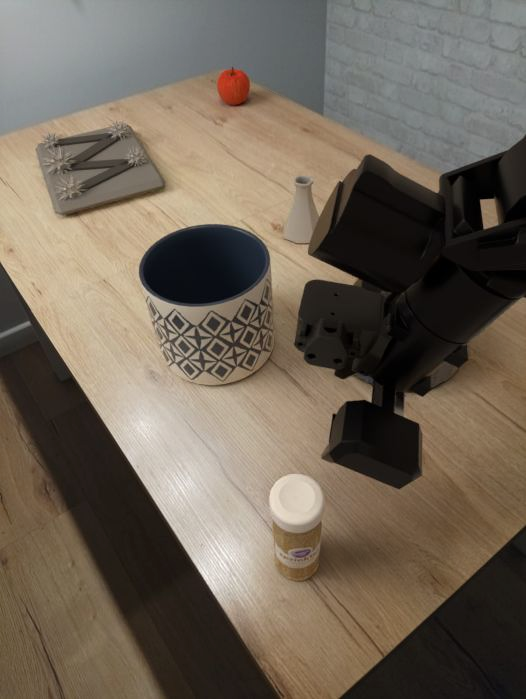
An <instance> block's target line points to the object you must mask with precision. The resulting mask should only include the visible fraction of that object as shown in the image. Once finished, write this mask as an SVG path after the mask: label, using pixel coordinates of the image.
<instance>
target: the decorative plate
mask: <svg viewBox="0 0 526 699" xmlns="http://www.w3.org/2000/svg"><path fill="white" fill-rule="evenodd" d="M114 121H115V122H113V121H112V120H111V124H109V123H107V125H108V127H104V128H100V129H99V128H98V129H96V130H91V131H86V132H83V133H78V134H73V135H70V136H69V135H68V136H64V137H61V136H60V134H58V135H56V133H55V132H53V131H51V133H50V132H49V131H47V133H44V135H45V136H44V135H41V137H42V138H43V139H42V138H41V141H42V142H39V143H38V144H37V145H36V147H35V149H34V150H35V153H36V156H37V160H38V162H39V165H40V168H41V173H42V175H43V179H44V182H45V185H46V188H47V191H48V194H49V197H50V201H51V205H52V207H53V212H54V213H55V214H58V215H60V216H62V217H63V216H66V215H70V214H74V213H78V212H81V211H86V210H89V209H92V208H97V207H100V206H104V205H107V204H111V203H115V202H118V201H123V200H126V199H129V198H133V197H134V198H135V197H137V196H141V195H145V194H148V193H152V192H156V191H160V190H163V189H164V187H165V186H166V184H167V180H166V179H165V177H164V175H163V174H162V173H161V171H160V170H159V168H158V167H157V165H156V163H155V161H154V160H153V158H152V157H151V155H150V154H149V153H148V152H149V151H147V149H146V148H145V146H144V144H143V143H142V142H141V140H140V138H139V137H138V135H137V133H136V132H135V130H134V129H133V127H132V126H131V125H129V123H126V122H124V121H125V120H124V119H123V120H121V119H119V121H117V119H116V118H114Z"/></svg>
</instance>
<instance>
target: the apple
mask: <svg viewBox="0 0 526 699" xmlns="http://www.w3.org/2000/svg"><path fill="white" fill-rule="evenodd" d="M250 88H251V82H250V79H249V77H248V75H247V74H246V72H244V71H243V70H241V69H234V66H232V67H231V69H226V70H223V71H222V72H221V73H220V74H219V76H218V79H217V83H216V89H217V93H218V96H219V98H221V100H222V101H223V102H224V103H225V104H227V105H230V106H235V105H241V104H242V103H243V102H245V101H246V100H247V98H248V96H249V94H250Z"/></svg>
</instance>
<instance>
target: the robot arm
mask: <svg viewBox="0 0 526 699" xmlns="http://www.w3.org/2000/svg"><path fill="white" fill-rule="evenodd" d="M483 200H493V201H494V206H495V211H496V217H497V225H493V226H491V227H487V228H485V226H484V220H483V219H484V218H483V211H482V203H481V201H483ZM307 254H308V255H307V256H310V257H312V258H314V259H316V260H318V261H320V262H322V263H325V264H327V265H329V266H331V267H333V268H335V269H337V270H339V271H342V272H344V273H345V274H347V275H350V276H352V277H354V278H356V281H355V282H354V283H353V284H348V283H342V282H337V281H336V282H335V281H329V280H325V279H311V280H308V281H307V282H306V283H305V284H304V288H303V291H302V296H301V300H300V304H299V307H298V311H297V320H296V328H295V335H294V341H293V346H294V347H295V348H296V349H297V350H298V351H299V352H301V353H303V357H302V358H303V361H304V362H305V363H306V364H308V365H309V366H313V367H319V368H324V369H330V370H334V373H333V375H334V377H336V378H338V379H341V380H346V379H348V378H350V377H352V376H354V375H355V374H356V373H359V374H361V375H363V376H370V377H371V378H372V379H373V384H372V389H371V399H370V400H371V401H368V400H367V399H357V400H346V401H345V402H344V403H343V404H342V405H341V406H340V407H339V409H338V410H337V412H336V413H332V416H331V423H330V429H329V436H328V444H326V446H325V448H324V449H323V451H322V453H321V456H320V459H321V460H323V461H324V462H328V463H330V464H336V465H338V466H341V467H343V468H346V469H348V470H351V471H353V472H355V473H358V474H360V475H363V476H365V477H367V478H369V479H372V480H375V481H378V482H380V483H382V484H385V485H387V486H388V487H391V488H394V489H396V490H401V489H402V488H404V487H406V486H407V485H409V484H411V483H412V482H415V481H416V480H417V479H418V478H420V477H422V476H423V431H422V429H421V426H420V423H418V422H416V421H414V420H412V419H409V418H407V417H405V397H406V392H411V393H413V394H415V395H418V396H419V397H422V398H423V397H425V396H426V395H427V394H428V393H430V392H431V390H432V387H431V374H432V373H433V372H435V371H436V370H437V369H438V368H439V367H440V366H442V365H443V364H444V363H445V362H447V363H449V364H451V365H454V366H456V367H458V369H460V368H461V367H462V366H464V364H466V363H467V362H468V361H469V349H468V347H469V344H470V343H471V342H472V341H473V340H474V339H475V338H476V337H477V336H479V335H480V334H481V333H482V332H484V330H486V329H487V328H488V327H489V326H491V325H492V324H493V323H494V322H495V321H496V320H497V319H498V318H500V317H501V316H503V315H504V314H505V313H506V312H507V311H508V310H509V309H510V308H512V307H513V306H514V305H515V304H516V303H518V302H519V301H520V300H521V299H522V298H523V299H526V133H525V134H524V135H523V137H522V138H521V139H520V140H519V141H517V142H516V143H515V144H514V145H512V146H510V148H508V149H506V150H504V151H501V152H499V153H496V154H493V155H490V156H487V157H485V158H481V159H480V160H477V161H474V162H471V163H468V164H466V165H462V166H461V167H457V168H455V169H453V170H449V171H447V172H444V173H442V174H440V176H439V177H438V192H436V191H434V190H432V189H431V188H428V187H426V186H425V185H422V184H420V183H418V182H417V181H415V180H412V179H411V178H409V177H407V176H405V175H403V174H401V173H400V172H398V171H397V170H396V169H394V168H393V167H392V166H391V165H390V164H389V163H387V162H386V161H384V160H381V159H380V158H378V157H377V156H375V155H373V154H370V153H369V154H365V155H364V157H363V158H362V160H361V161H360V163H359V165H358V166H357V167H356V168H353V169H351V170H350V171H349V172H348V173H347V174H346V175H345V177H344V178H343V180H342V181H341V180H338V182H337V183H336V185H335V186H334V188H333V189H332V191H331V193H330V195H329V196H328V199H327V201H326V202H325V205H324V206H323V209H322V211H321V212H320V214H319V219H318V221H317V224H316V226H315V229H314V231H313V234H312V237H311V240H310V243H308V247H307ZM467 344H468V346H467ZM407 390H408V391H407Z"/></svg>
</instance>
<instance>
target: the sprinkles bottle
mask: <svg viewBox="0 0 526 699" xmlns="http://www.w3.org/2000/svg"><path fill="white" fill-rule="evenodd" d="M325 498H326V497H325V493H324V490H323V488H322V485H321V484H319V482H318V481H317V480H315V478H313V477H311V476H309V475H307V474H304V473H289V474H285V475H284V476H282V477H280V478H279V479H278V480H276V482H275V483H274V484H273V485H272V487H271V489H270V492H269V497H268V502H269V503H268V506H269V507H268V508H269V513H270V516H271V518H272V521H271V530H272V539H273V547H274V564H275V567H276V569H277V570H278V571H277V572H279V573H280V574H281V576H283V577H284V578H285V579H287V580H290V581H294V582H297V581H298V582H301V581H305V580H308V579H309V578H311V577H312V576H313V575H314V574H315V573H316V572H317V570H318V568H319V564H320V551H321V540H322V529H323V528H322V527H323V526H322V525H323V523H322V519H323V517H324V513H325V507H326V505H325V504H326V499H325Z"/></svg>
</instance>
